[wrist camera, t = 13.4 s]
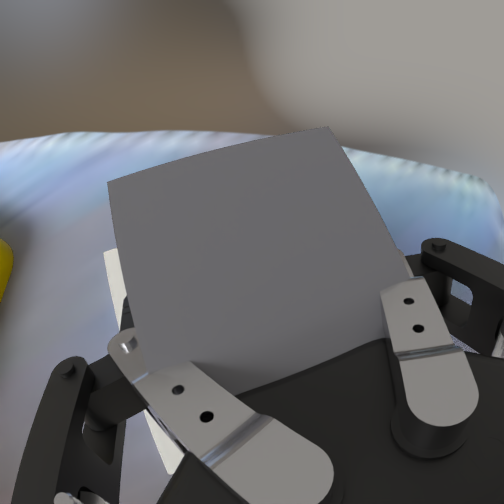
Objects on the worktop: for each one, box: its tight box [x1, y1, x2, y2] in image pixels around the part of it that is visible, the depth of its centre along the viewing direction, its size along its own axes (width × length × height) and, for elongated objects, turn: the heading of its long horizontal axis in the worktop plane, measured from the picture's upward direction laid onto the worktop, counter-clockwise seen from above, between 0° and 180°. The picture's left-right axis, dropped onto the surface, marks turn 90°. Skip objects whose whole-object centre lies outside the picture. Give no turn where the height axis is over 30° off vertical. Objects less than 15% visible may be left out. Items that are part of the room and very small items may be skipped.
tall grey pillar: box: [107, 127, 411, 440], centre depth 12 cm, size 6×6×10 cm
